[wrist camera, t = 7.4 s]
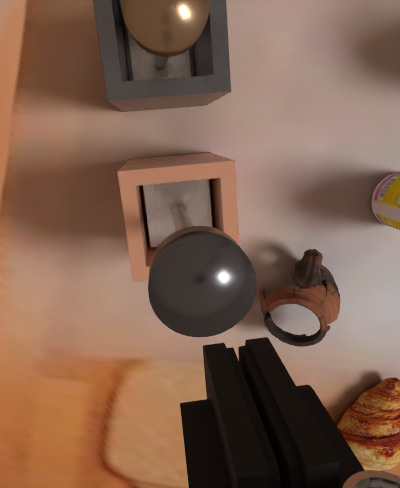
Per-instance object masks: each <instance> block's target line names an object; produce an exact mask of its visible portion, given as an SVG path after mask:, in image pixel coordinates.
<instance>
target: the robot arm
mask: <svg viewBox="0 0 400 488" xmlns="http://www.w3.org/2000/svg"><path fill="white" fill-rule="evenodd" d="M203 356H204V368H205V380H206V392H207V399H206V400H199V401H192V402H185V403H180V407H181V416H182V426H183V435H184V445H185V454H186V464H187V473H188V483H189V488H400V477H399V476H397V475H394V474H391V473H388V472H385V471H377V470H367V471H365V470H364V468H363V467H362V465H361V463H360V462H359V460H358V459H357V457H356V456H355V454H354V452H353V451H352V449H351V448H350V446H349V445H348V443H347V442H346V440H345V438H344V437H343V435H342V434H341V432H340V431H339V429H338V427H337V426H336V424H335V423H334V421H333V420H332V418H331V416H330V415H329V413H328V412H327V410H326V409H325V407H324V406H323V404H322V402H321V401H320V399H319V398H318V396H317V395H316V393H315V391H314V390H313V389H312V387H311V386H309V385H302V386H296V385H295V384H294V382H293V380H292V378H291V377H290V375H289V373H288V372H287V370H286V368H285V366H284V365H283V363H282V361H281V359H280V358H279V356H278V354H277V352H276V351H275V349H274V347H273V346H272V344H271V342H270V340H269V339H268V338H267V337H265V338H257V339H249V340H246V342H245V346H240V347H239V361H238V358H237V356H236V353H235V351H234V348H233V347H232V348H226V346H225V344H224V343H219V344H211V345H204V346H203Z"/></svg>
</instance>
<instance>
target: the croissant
mask: <svg viewBox="0 0 400 488" xmlns="http://www.w3.org/2000/svg"><path fill="white" fill-rule="evenodd" d="M337 427H338V429H339V431H340V432H341V434H342V435H343V437H344V438H345V440H346V442H347V443H348V445H349V446H350V448H351V449H352V451H353V452H354V454H355V456H356V457H357V459H358V460H359V462H360V463H361V465H362V467H363V468H364V470H365V471H367V470H377V471H380V470H383V469H390V468H393V467H395V466H396V465H397V464H398V463H399V462H400V380H399V379H397V378H387V379H385V380H383V381H382V382H381V383H380V384H378V385H377V386H376V387H374V388H372V389H369V390H367V391H365V392H363V393H362V394H361V395H360V396H359V397H358V399H357V400H356V401H355V403H354V404H353V405H351V406H349V407H348V408H347V410H346V411H345V413H344V414H343V416H342V419H341V421H340V422H339V423H338V425H337Z"/></svg>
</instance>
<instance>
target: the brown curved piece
mask: <svg viewBox="0 0 400 488" xmlns="http://www.w3.org/2000/svg"><path fill="white" fill-rule="evenodd" d="M321 262H322V254H321V253H320V252H318V251H317V250H316V249H313V250H312V249H310V250H307V251H305V253H304V256H303V258H302V259H301V260H299V261H297V262H296V263H295V270H294V274H293V279H294V282H295V284H296V285H297V286H298V287H301V288H300V289H299V290H294V288H293V286H292V285H291V286H288V287H285V288H282V289H279V290H277V291H275V292H274V293H272V294H270V295H268V296H267V297H265V290H264V289H262V290H261V296H260V305H261V311H262V313H263V315H264V317H265V318H264V322H265V325H266V327H267V328H268V330H269V331H270V333H271V334H272V335H273V336H275V337H276V338H278V339H279V340H281V341H282V342H285V343H287V344H290V345H294V346H309V345H314V344H316V343H318V342H320V341H321V340H322V339H323V338H324V336H325V334H326V332H327V331H328V330H329V329H330V326H327V324H330V323H331V322H334V321H335V320H336V319H337V316H338V314H339V310H340V294H339V291H338V288H337V285H336V283H335V281H334V278H333V276H332V274H331V273H330V271H329V270H328V269H327V268H326V267H324V266H323V265H321ZM322 281H323V283H324V285H322ZM283 304H298V305H301V306H304V307H306V308H308V309H309V310H311V311H312V312H313V313H314V314H315V315H316V316H317V317H318V319H319V321H320V329H319V331H318V332H317V333H315V334H314V335H311V336H306V334H303V335H294V334H291V333H288V332H286V331H283V330H282V329H281V328H279V327H278V326H276V325H275V324H274V323H273V321H272V318H271V314H270V313H269V312H270V311H273V310H274V309H275V308H276V307H278V306H280V305H283Z"/></svg>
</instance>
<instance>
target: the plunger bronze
mask: <svg viewBox="0 0 400 488" xmlns="http://www.w3.org/2000/svg"><path fill="white" fill-rule="evenodd" d="M120 4H121V10H122V14H123V18H124V21H125V25H126V27H127V30H128V38H129V47H130V55H131V63H132V71H133V80H134V81H141V80H154V79H168V78H182V77H191V71H190V59H189V49H190V48H191V47H192V46H193V45H194V44H195V43H196V42H197V40H198V39H199V37H200V35H201V33H202V31H203V29H204V26H205V24H206V22H207V19H208V15H209V9H210V0H120Z"/></svg>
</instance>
